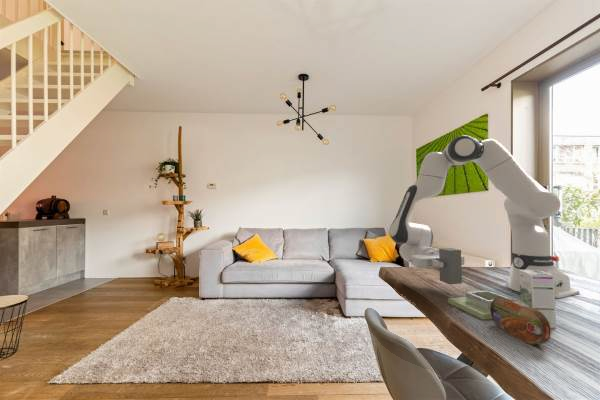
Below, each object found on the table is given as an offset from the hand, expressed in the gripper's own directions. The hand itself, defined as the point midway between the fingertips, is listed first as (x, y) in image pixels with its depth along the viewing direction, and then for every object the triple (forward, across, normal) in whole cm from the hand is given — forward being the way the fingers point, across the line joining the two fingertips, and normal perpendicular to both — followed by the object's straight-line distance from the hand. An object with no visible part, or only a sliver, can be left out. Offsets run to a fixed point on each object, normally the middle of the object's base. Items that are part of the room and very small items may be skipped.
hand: (452, 264), depth 97 cm
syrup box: (+23, +8, +12) cm, 27 cm away
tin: (+28, -4, +12) cm, 31 cm away
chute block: (-1, 0, +7) cm, 7 cm away
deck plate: (+11, +3, +12) cm, 17 cm away
